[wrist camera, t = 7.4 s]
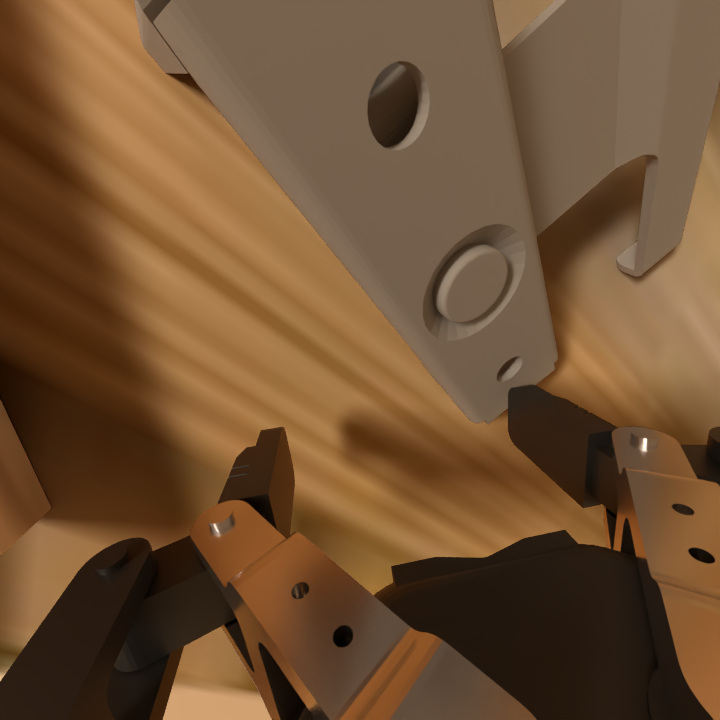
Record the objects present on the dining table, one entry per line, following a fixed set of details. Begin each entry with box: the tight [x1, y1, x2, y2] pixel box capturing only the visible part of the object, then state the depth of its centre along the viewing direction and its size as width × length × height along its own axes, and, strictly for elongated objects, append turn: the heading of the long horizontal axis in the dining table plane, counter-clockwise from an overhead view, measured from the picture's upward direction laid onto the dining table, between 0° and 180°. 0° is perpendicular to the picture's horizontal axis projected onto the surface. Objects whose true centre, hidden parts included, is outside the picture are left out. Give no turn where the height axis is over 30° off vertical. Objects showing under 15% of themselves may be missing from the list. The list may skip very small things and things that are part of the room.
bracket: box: [134, 0, 720, 424], centre depth 11 cm, size 10×14×10 cm
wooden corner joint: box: [0, 400, 51, 556], centre depth 9 cm, size 24×22×6 cm
